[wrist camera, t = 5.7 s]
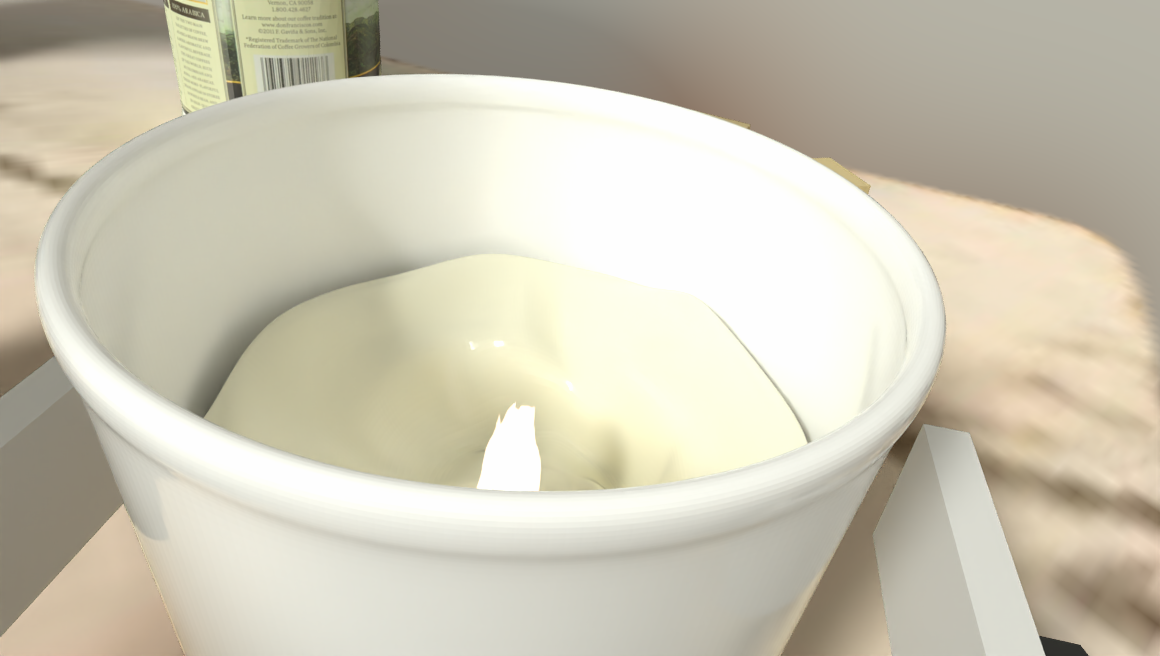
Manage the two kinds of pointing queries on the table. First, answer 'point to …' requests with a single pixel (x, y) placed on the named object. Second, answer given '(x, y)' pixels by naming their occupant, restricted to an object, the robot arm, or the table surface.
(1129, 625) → the table surface
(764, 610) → the candle holder
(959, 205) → the table surface
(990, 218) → the table surface
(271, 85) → the coffee can
